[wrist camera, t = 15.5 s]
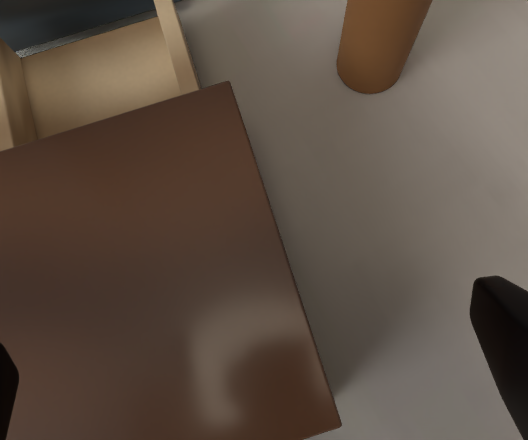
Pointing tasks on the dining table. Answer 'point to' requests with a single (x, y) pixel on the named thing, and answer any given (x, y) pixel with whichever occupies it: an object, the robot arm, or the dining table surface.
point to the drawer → (86, 64)
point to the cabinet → (153, 284)
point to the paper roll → (378, 41)
